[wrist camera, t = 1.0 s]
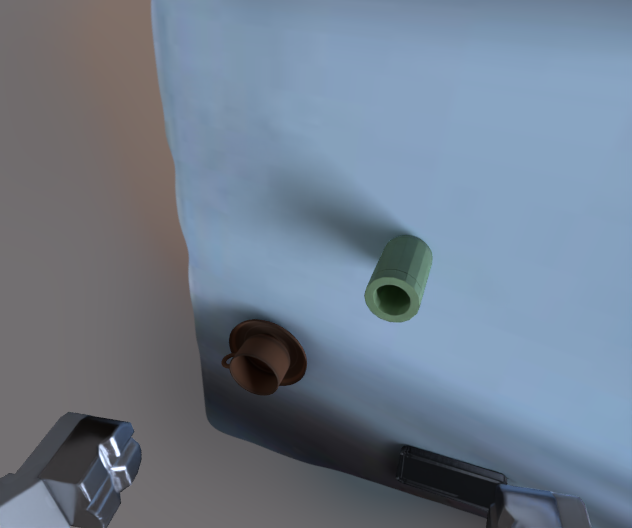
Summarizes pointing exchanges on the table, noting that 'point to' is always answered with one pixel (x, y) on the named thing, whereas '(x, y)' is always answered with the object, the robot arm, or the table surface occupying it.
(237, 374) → the cup and saucer
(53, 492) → the robot arm
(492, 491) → the phone
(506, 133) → the table surface
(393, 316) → the green cylindrical container
